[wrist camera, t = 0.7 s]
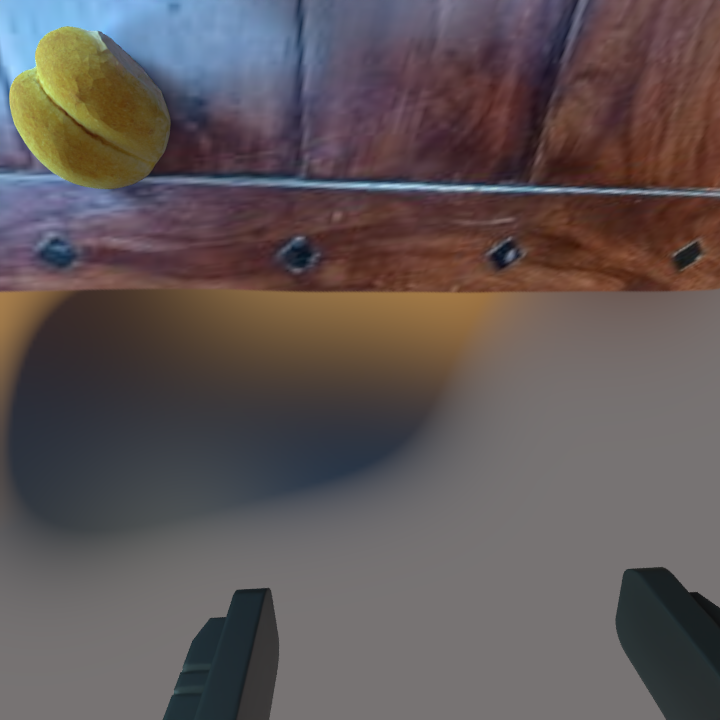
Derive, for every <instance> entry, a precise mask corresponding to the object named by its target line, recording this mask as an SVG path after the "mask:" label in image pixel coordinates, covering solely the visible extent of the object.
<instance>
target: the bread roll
mask: <svg viewBox="0 0 720 720" xmlns="http://www.w3.org/2000/svg"><path fill="white" fill-rule="evenodd" d="M35 60H36V67H35V68H33V69H31V70H26V71H24V72H22V73H21V74H20V75H18V76H17V77H16V78H15V79H14V81H13V83H12V85H11V88H10V95H9V98H10V108H11V113H12V117H13V120H14V124H15V126H16V128H17V130H18V132H19V133H20V135H21V137H22V139H23V140H24V142H25V143H26V145H27V146H28V148H29V149H30V150H31V151H32V153H33V154H34V155H35V156H36V157H37V158H38V160H39V161H40V162H41V163H43V164H44V165H45V166H46V167H47V168H48V169H49V170H51V171H52V172H53V173H55V174H56V175H58V176H60V177H61V178H63V179H65V180H67V181H69V182H72V183H75V184H78V185H81V186H85V187H91V188H98V189H115V188H121V187H125V186H128V185H132V184H134V183H136V182H138V181H140V180H142V179H143V178H145V177H146V176H147V175H149V173H150V172H151V171H152V170H153V168H154V166H155V164H156V163H157V162H158V161H159V159H160V158H161V156H162V155H163V154H164V152H165V150H166V147H167V143H168V139H169V136H170V125H171V121H170V115H169V112H168V108H167V106H166V103H165V101H164V99H163V95H162V92H161V91H160V89H159V88H158V87H157V86H156V84H155V83H154V82H153V81H152V79H151V78H150V77H149V76H148V75H147V73H146V72H145V71H144V70H143V68H142V67H141V66H140V65H139V64H138V63H136V62H135V61H134V60H133V59H132V58H131V57H130V55H128V54H127V53H126V52H125V51H124V50H122V48H121V47H120V46H118V45H117V44H116V43H115V42H114V41H113V40H112V39H111V38H109V37H108V36H106V35H105V34H103V33H102V32H100V31H87V30H84V29H81V28H76V27H69V26H66V27H61V28H59V29H57V30H54V31H51V32H50V33H48V34H46V35H45V36H44V37H43V38H42V39H41V40H40V42H39V44H38V47H37V49H36V53H35Z"/></svg>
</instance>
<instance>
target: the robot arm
mask: <svg viewBox="0 0 720 720" xmlns="http://www.w3.org/2000/svg"><path fill="white" fill-rule="evenodd" d="M616 629H617V634H618V637H619V640H620V643H621V645H622V647H623V650H624V651H625V653H626V655H627V656H628V658H629V660H630V661H631V663H632V665H633V666H634V667H635V669H636V671H637V672H638V674H639V676H640V677H641V679H642V681H643V682H644V684H645V685H646V687H647V689H648V690H649V692H650V694H651V695H652V697H653V699H654V700H655V702H656V703H657V705H658V707H659V708H660V710H661V712H662V713H663V715H664V716H665V718H666V720H720V608H719V607H718V606H716V605H715V604H713V603H712V602H710V601H709V600H708V599H706V598H705V597H703V596H702V595H700V594H699V593H698V592H690V593H689V592H688V591H687V590H686V589H685V588H684V587H683V586H682V584H681V583H680V582H679V581H678V580H677V579H676V577H675V576H674V575H673V574H672V573H671V572H670V571H668V570H667V569H666V568H663V567H654V568H637V569H627V570H626V571H625V572H624V574H623V579H622V585H621V591H620V597H619V602H618V608H617V614H616ZM278 659H279V638H278V631H277V624H276V618H275V612H274V606H273V600H272V594H271V590H270V589H269V588H261V589H244V590H236V591H235V593H234V595H233V598H232V601H231V604H230V607H229V610H228V614H227V617H222V618H221V617H220V618H210V619H209V620H208V622H207V623H206V624H205V625H204V627H203V628H202V629H201V631H200V632H199V633H198V634H197V636H196V637H195V638H194V640H193V641H192V644H191V646H190V649H189V652H188V654H187V657H186V660H185V662H184V665H183V671H182V672H181V673H180V675H179V678H178V681H177V684H176V686H175V689H174V695H172V697H171V699H170V702H169V705H168V707H167V710H166V713H165V715H164V718H163V720H269V717H270V710H271V705H272V698H273V693H274V687H275V681H276V675H277V669H278Z"/></svg>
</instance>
